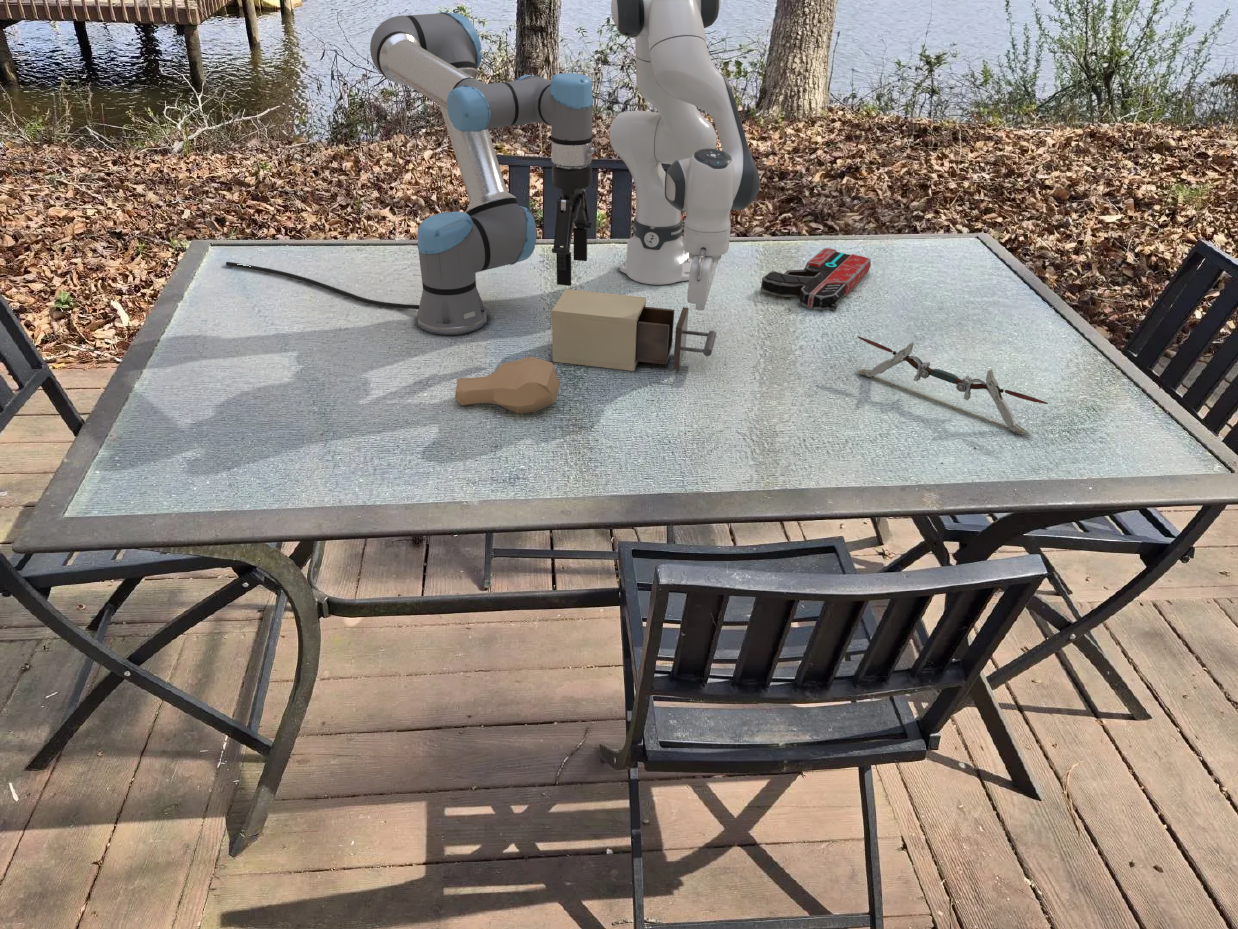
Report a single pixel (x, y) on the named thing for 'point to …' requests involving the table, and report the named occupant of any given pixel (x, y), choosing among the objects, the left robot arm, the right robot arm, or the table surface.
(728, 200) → the right robot arm
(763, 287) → the gun
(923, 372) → the bow
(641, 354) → the drawer
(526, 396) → the squash
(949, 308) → the table surface
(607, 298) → the tan box
